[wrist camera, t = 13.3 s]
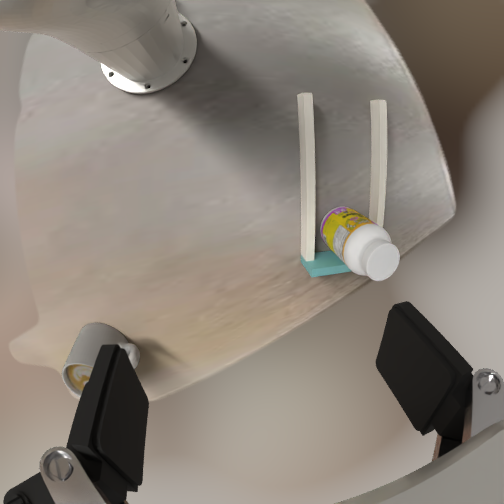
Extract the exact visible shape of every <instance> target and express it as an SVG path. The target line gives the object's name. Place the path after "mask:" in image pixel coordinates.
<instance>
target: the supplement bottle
mask: <svg viewBox="0 0 504 504" xmlns="http://www.w3.org/2000/svg"><path fill="white" fill-rule="evenodd" d="M320 233H321V237H322V240H323V241H324V243H325V244H326V245H327V246H328V247H329V248H330V249H331V250H332V251H333V252H334V253H335V254H336V255H337V256H338V257H339V258H340V259H341V260H342V261H343V262H344V263H345V265H346V266H347V267H348V268H349V269H350V270H351V271H353V272H354V273H356V274H358V275H363V276H366V275H367V276H369V277H370V278H371V279H372V280H375V281H382V280H385V279H387V278H389V277H390V276H391V275H392V274H393V273H394V272H395V270H396V269H397V266H398V264H399V259H400V254H399V251H398V249H397V247H396V246H395V245H393V244H392V243H391V239H390V236H389V234H388V233H387V231H386V230H385V229H384V228H382V227H381V226H379V225H377V224H376V223H374V222H373V221H371V220H370V219H368V218H366V217H365V216H363V215H361V214H360V213H358V212H357V211H355V210H353V209H351V208H349V207H344V206H341V207H336V208H334V209H332V210H330V211H329V212H328V213H327V214H326V215H325V217H324V218H323V220H322V222H321V227H320Z"/></svg>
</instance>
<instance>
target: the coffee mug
mask: <svg viewBox="0 0 504 504" xmlns="http://www.w3.org/2000/svg"><path fill="white" fill-rule="evenodd" d="M106 344H118V345H119V346H120V347H121V348H124V349H125V350H126V352H127V355H128V357H129V359H130V362H131V364H132V366H133V368H134V369H135V368H136V367H137V365H138V363H139V360H140V351H139V349H138V348H137V346H136V345H134V344H131V343H128V341H127V340H126V338H125V337H124V336H123V335H122V334H121V333H120V332H119V331H118V330H116V329H115V328H113V327H111V326H109V325H106V324H103V323H90V324H87V325H85V326H84V327H83V328H82V329H81V331H80V333H79V335H78V337H77V339H76V341H75V343H74V345H73V347H72V350H71V352H70V354H69V356H68V358H67V361H66V363H65V365H64V367H63V370H62V378H63V380H64V383H65V384H66V386H67V387H68V388H69V389H70V390H71V391H72V392H73V393H74V394H76V395H77V396H78V397H81V394H82V391H83V388H84V386H85V384H86V383H87V382H88V381H89V378H90V375H91V372H92V370H93V367H94V364H95V361H96V358H97V356H98V353H99V350H100V347H101V346H102V345H106Z"/></svg>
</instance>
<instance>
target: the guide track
mask: <svg viewBox="0 0 504 504" xmlns="http://www.w3.org/2000/svg"><path fill="white" fill-rule="evenodd" d="M297 101H298V119H299V142H300V175H301V263H302V264H303V265H304V267H305V268H306V270H307V271H308V273H309V274H310V276H311V277H317V276H324V275H330V274H337V273H343V272H350V271H351V270H350V269H349V268H348V267H347V266H346V265H345V263H344V262H343V261H342V260H341V259H340V258H339V257H338V256H337V255H336V254H335V253H334V252H333V251H324V252H315V253H314V251H315V139H314V114H313V96H312V93H301V94H298V95H297ZM370 108H371V186H370V206H369V219H370V220H371V221H373V222H374V223H376V224H377V225H379V226H381V227H382V228H383V221H384V210H385V196H386V177H387V107H386V100H380V99H379V100H370Z"/></svg>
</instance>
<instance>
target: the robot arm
mask: <svg viewBox="0 0 504 504" xmlns="http://www.w3.org/2000/svg"><path fill="white" fill-rule="evenodd" d="M183 25H186V26H185V27H182V26H183ZM0 31H9V32H21V33H37V34H44V35H48V36H51V37H54V38H56V39H58V40H61V41H63V42H65V43H67V44H69V45H70V46H72V47H74V48H76V49H77V50H79V51H81V52H83V53H84V54H86V55H88V56H89V57H91V58H93V59H95V60H96V61H98V62H100V63H101V67H102V70H103V73H104V75H105V77H106V78H107V80H108V81H109V82H110V83H111V84H112V85H113V86H115V87H117V88H118V89H120V90H123V91H125V92H129V93H133V94H146V93H152V92H156V91H159V90H162V89H164V88H166V87H168V86H170V85H171V84H173V83H174V82H176V81H177V80H178V79H179V78H180V77H181V76H182V75H184V74H185V72H186V71H187V70H188V68H189V67H190V65H191V63H192V61H193V60H194V57H195V53H196V49H197V38H196V34H195V30H194V28H193V26H192V24H191V23H190V22H189V21H188V19H187V18H186V17H184V16H183V15H181V14H180V13H178V11H177V7H176V3H175V0H0ZM184 61H188V62H187V63H183V62H184ZM113 74H114V76H113V77H112V75H113ZM148 86H151V88H150V89H148V88H147V87H148ZM376 367H377V369H378V371H379V372H380V373H381V375H382V377H383V378H384V380H385V381H386V383H387V385H388V386H389V388H390V389H391V391H392V392H393V394H394V396H395V397H396V398H397V400H398V402H399V404H400V405H401V407H402V408H403V410H404V412H405V413H406V415H407V416H408V418H409V420H410V421H411V423H412V425H413V426H414V428H415V429H416V430H417V431H420V432H421V434H422V435H425V434H427V433H429V432H431V431H433V430H434V429H435V430H436V431H437V439H436V444H435V449H434V454H433V458H432V462H431V463H429V464H427V465H425V466H424V467H422V468H420V469H418V470H416V471H414V472H412V473H410V474H408V475H406V476H404V477H402V478H400V479H398V480H395V481H393V482H391V483H389V484H386V485H384V486H382V487H379V488H377V489H375V490H372V491H369V492H367V493H364V494H361V495H359V496H356V497H353V498H350V499H347V500H344V501H341V502H338V503H335V504H504V382H503V379H502V378H501V376H500V375H499V374H498V373H497V372H495V371H494V370H491V369H484V368H483V369H480V370H478V371H477V372H475V374H474V376H473V375H472V374H471V372H472V371H473V368H472V367H471V366H470V365H469V364H468V363H467V361H466V360H465V359H464V358H463V357H462V356H461V355H460V354H459V353H458V351H456V349H455V348H454V347H453V346H452V345H451V344H450V343H449V342H448V341H447V340H446V339H445V338H444V337H443V335H441V333H440V332H439V331H438V330H437V329H436V328H435V327H434V326H433V325H432V324H431V323H430V322H429V321H428V320H427V319H426V318H425V317H424V316H423V315H422V314H421V313H420V312H419V311H418V310H417V309H416V308H415V307H414V306H413V305H412V304H411V303H410V302H407V301H406V302H402V303H399V304H395V305H394V306H393V307H392V309H391V310H390V311H389V314H388V318H387V322H386V326H385V330H384V334H383V338H382V341H381V345H380V349H379V352H378V356H377V359H376ZM148 408H149V402H148V398H147V395H146V393H145V391H144V389H143V387H142V385H141V383H140V381H139V379H138V377H137V375H136V373H135V370H134V368H133V366H132V364H131V362H130V359H129V357H128V355H127V352H126V350H125V349H124V348H121V347H120V346H119V345H118V344H106V345H102V346H101V347H100V350H99V353H98V356H97V358H96V361H95V364H94V367H93V370H92V372H91V375H90V378H89V381H88V382H87V383H86V384H85V386H84V388H83V391H82V394H81V397H80V401H79V404H78V407H77V410H76V414H75V417H74V421H73V424H72V428H71V431H70V435H69V439H68V443H67V447H66V448H65V447H53V448H50V449H49V450H47V451H46V452H45V453H44V454H43V456H42V457H41V460H40V468H39V469H40V472H39V473H38V474H36V475H34V476H32V477H31V478H29V479H27V480H26V481H24V482H23V483H21V484H19V485H17V486H15V487H14V488H12V489H10V490H9V491H8V492H7V493H6V495H5V497H4V504H129V503H128V502H127V501H126V496H127V491H133V492H137V491H138V485H139V486H140V485H141V484H142V480H143V463H144V448H145V437H146V426H147V416H148Z"/></svg>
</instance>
